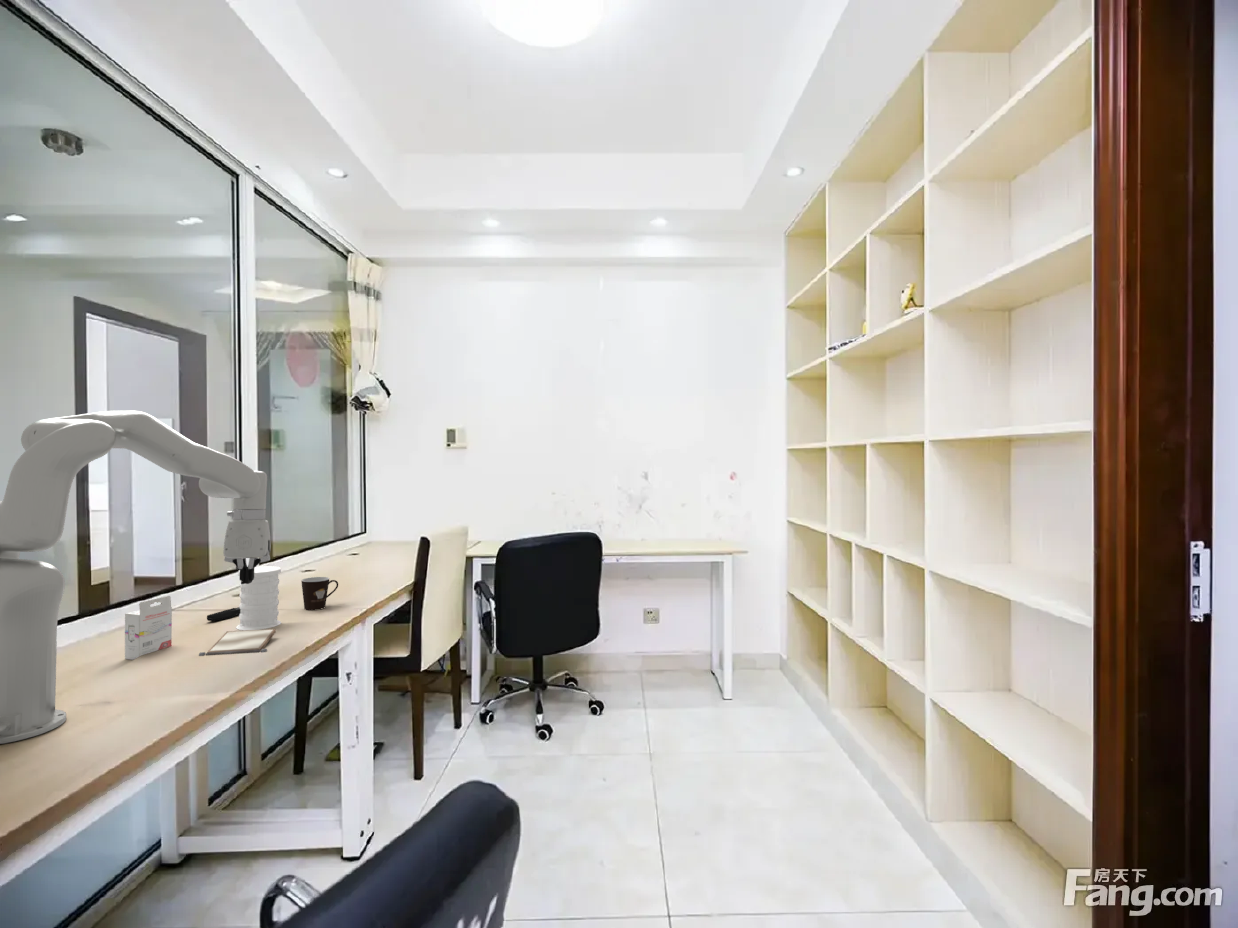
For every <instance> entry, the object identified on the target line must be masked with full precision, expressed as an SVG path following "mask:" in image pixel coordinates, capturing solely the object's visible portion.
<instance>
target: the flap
mask: <svg viewBox="0 0 1238 928" xmlns="http://www.w3.org/2000/svg"><path fill="white" fill-rule="evenodd" d="M276 631H277V630H276V628H267V629H261V630H229V631H226V632H224V634H223V635H222V636H220V638H219V639H218V640H217V641H216V642H215V643H214V644H213V645H212V646H211V647H210V648H209V650H208V651H207V652H205V656H218V655H219V656H220V655H236V654H252V653H253V654H255V653H260V652H261V650H262V649H265V648H266V646H267V644H268V643H269V642H270V641H271V640H272V638H273V637H274V635H275V634H276Z"/></svg>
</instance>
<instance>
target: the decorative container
mask: <svg viewBox="0 0 1238 928" xmlns="http://www.w3.org/2000/svg"><path fill="white" fill-rule="evenodd" d="M280 573H282V568H281V567H280V566H276V565H275V566H273V565H272V566H270V565H269V566H268V565H267V566H264V565H263V566H256V567H255V568H254V580H252V582H251V583H249V584H246V583H245V584H241V581H240V582H239V587H240V592H239V598H240V603H239V605H238V607H240V609H241V610H240V615H238V619H239V620H240V622H239V624H238V625H236V627H235V629H237V631H246V630H266V629H272V628H274V627H277V626H279V625H282V621H281V620H278V616H279V614H280V613H279V609H278V606H279V604H280V601H279V594H280V590H279V584H280V579H279V574H280ZM238 576H239V577H240V569H239V570H238Z"/></svg>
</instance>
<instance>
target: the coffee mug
mask: <svg viewBox="0 0 1238 928" xmlns="http://www.w3.org/2000/svg"><path fill="white" fill-rule="evenodd" d="M300 581H301V591H302V599H303V609H304V610H305V609H306V610H305V611H316V610H315V609H320V610H322V609H321V608H323V609H325V608H326V604H327V598H329V597H330V596H331V595H332V594H333V593H334V592H336V591H337V589H338V587H339V582H338V580H335V579H332V580H330V577H328V576H327V577H326V576H314V577H313V576H312V577H311V576H310V577H307V578H303V579H301V580H300ZM333 582H334V583H335V585H336V586H335V588H334V589H333V590H332V591H330V592H329V593H328V590H329V585H330V584H331V583H333ZM324 607H325V608H324Z"/></svg>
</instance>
